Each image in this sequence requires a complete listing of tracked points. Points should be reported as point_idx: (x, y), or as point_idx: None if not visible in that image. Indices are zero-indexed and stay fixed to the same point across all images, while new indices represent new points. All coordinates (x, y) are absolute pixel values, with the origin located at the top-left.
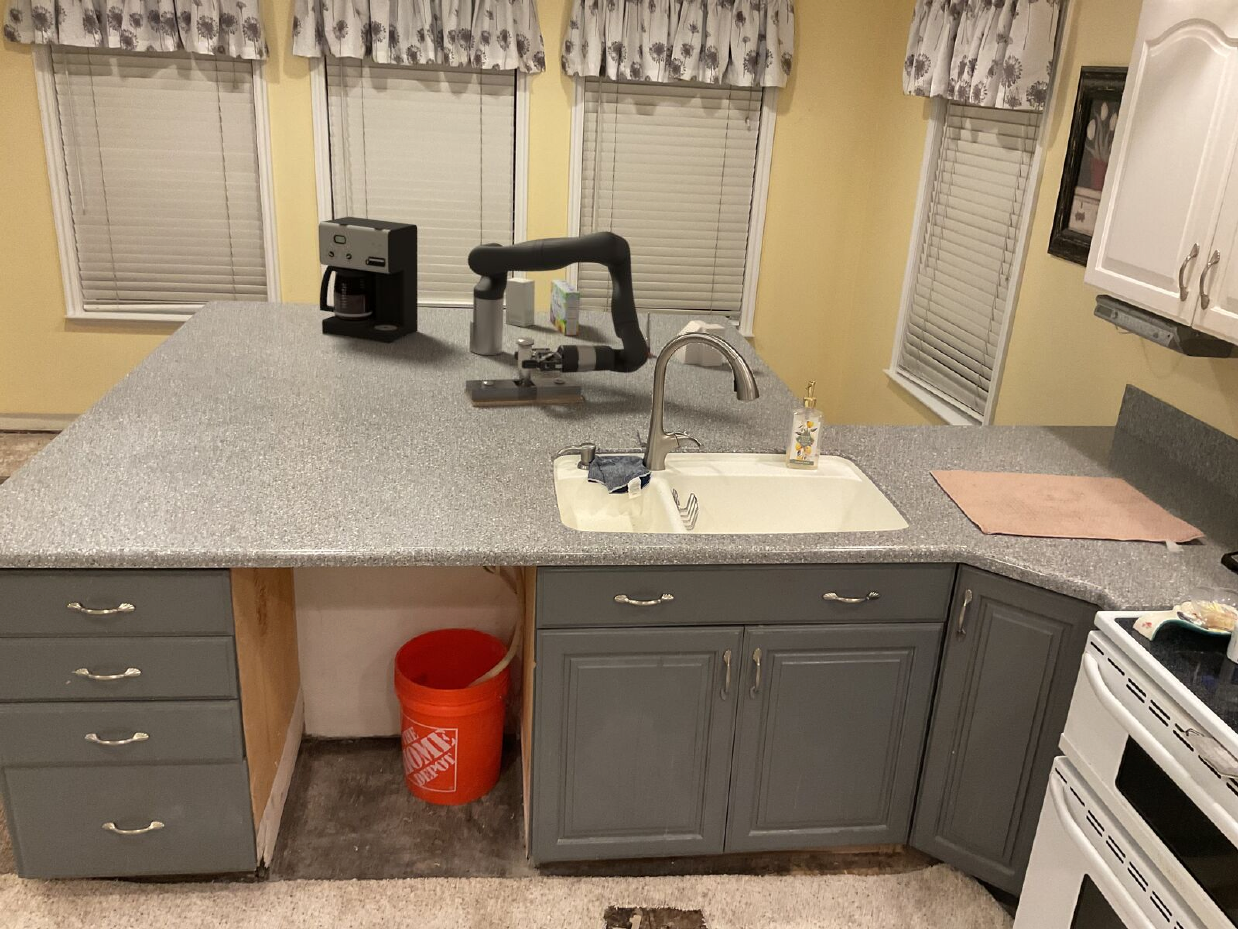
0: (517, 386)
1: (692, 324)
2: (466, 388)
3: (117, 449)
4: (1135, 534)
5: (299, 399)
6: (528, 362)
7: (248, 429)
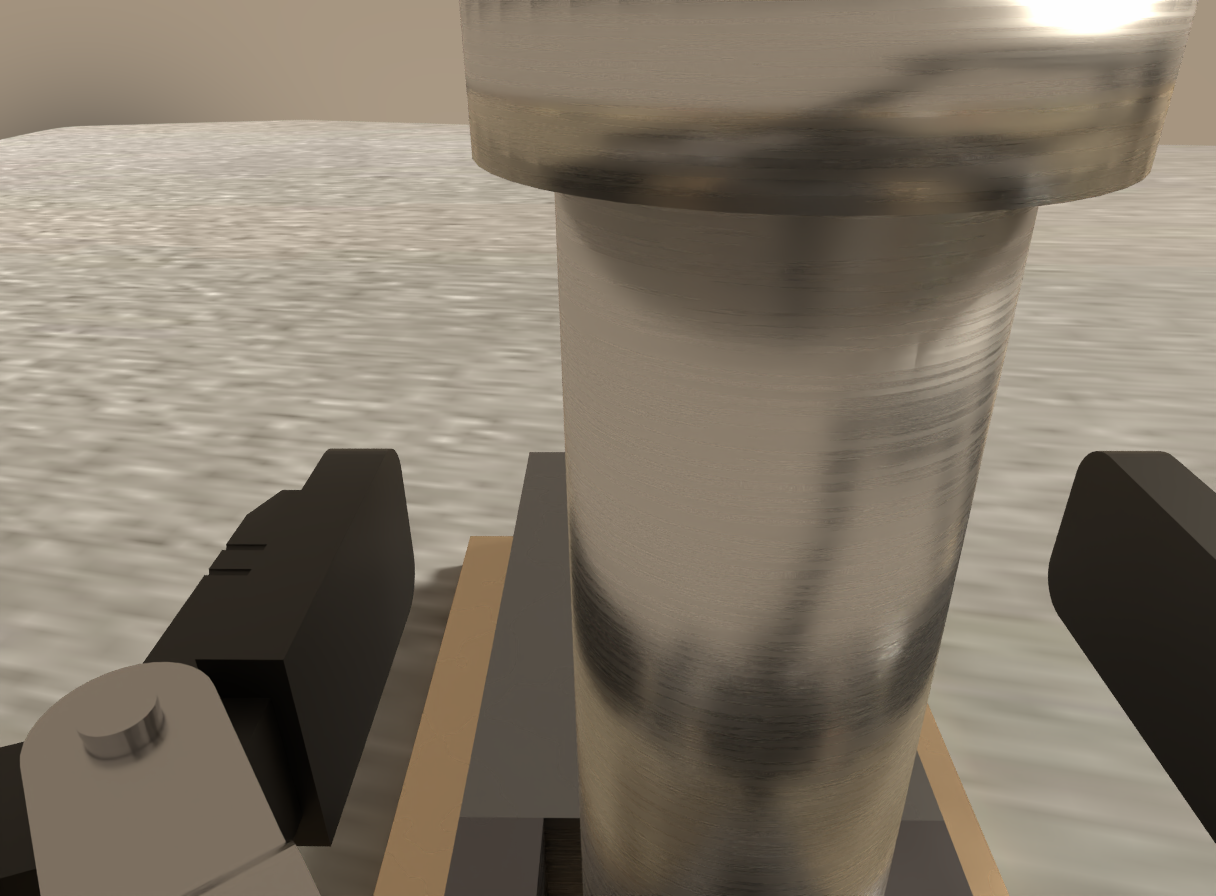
0: (529, 822)
1: None
2: None
3: (408, 140)
4: None
5: None
6: (255, 538)
7: (447, 189)
